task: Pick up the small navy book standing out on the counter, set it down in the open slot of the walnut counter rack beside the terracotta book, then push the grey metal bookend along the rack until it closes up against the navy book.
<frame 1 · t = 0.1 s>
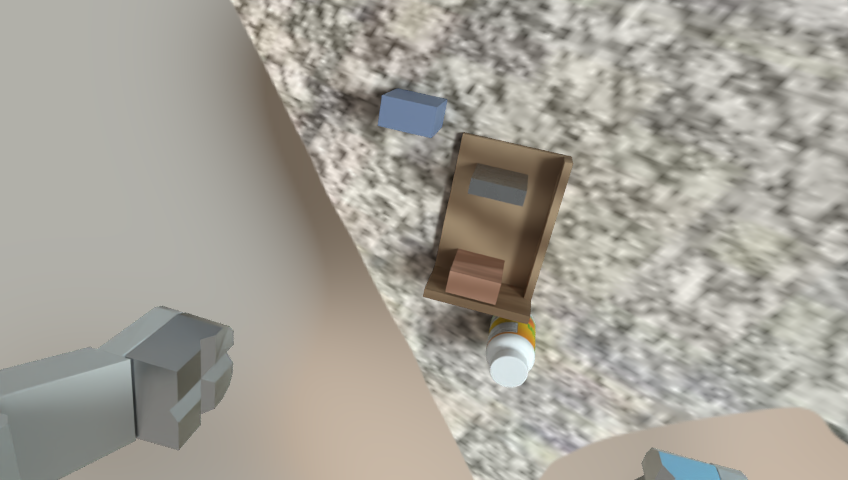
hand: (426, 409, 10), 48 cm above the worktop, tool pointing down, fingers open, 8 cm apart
book: (419, 107, 56), on the worktop
supplement bottle: (513, 323, 64), on the worktop
bookend: (499, 183, 53), point 4 cm above the worktop, slide at 0.0 cm
rack: (498, 217, 59), on the worktop
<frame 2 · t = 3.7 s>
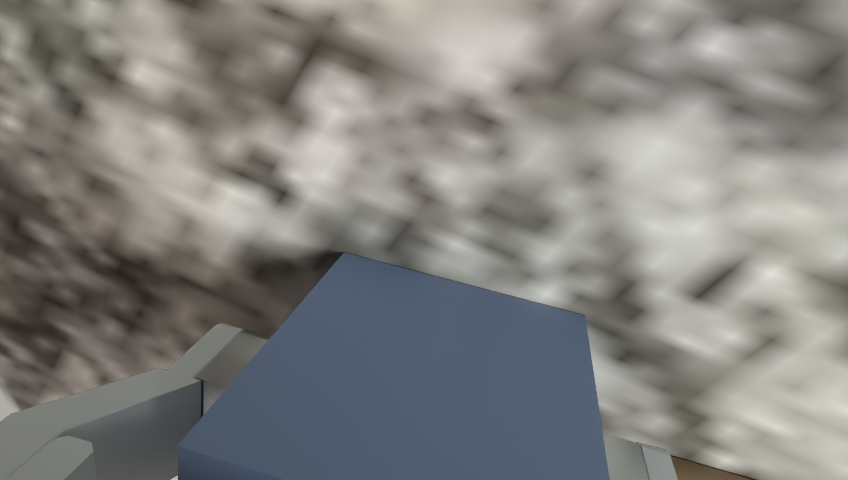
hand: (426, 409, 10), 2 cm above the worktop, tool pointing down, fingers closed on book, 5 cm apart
book: (447, 338, 12), on the worktop, touching gripper
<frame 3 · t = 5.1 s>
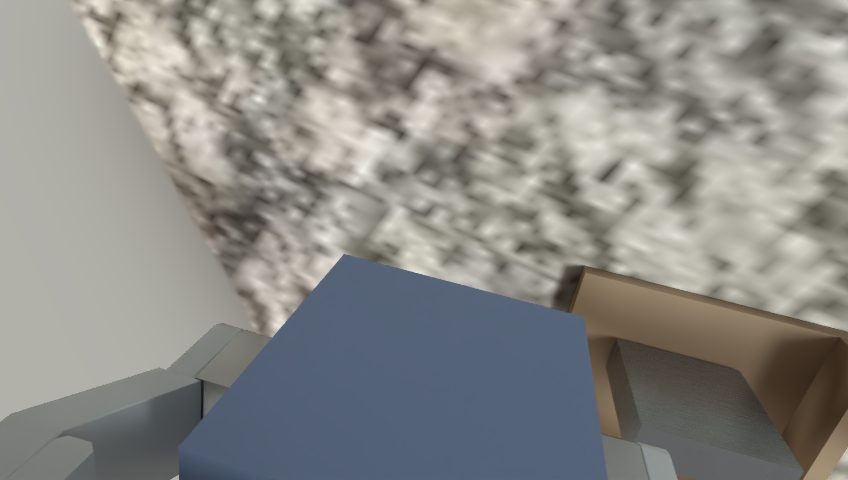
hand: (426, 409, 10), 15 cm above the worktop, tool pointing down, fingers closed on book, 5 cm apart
book: (447, 339, 12), point 13 cm above the worktop, touching gripper
bookend: (688, 410, 21), point 4 cm above the worktop, slide at 0.0 cm
rack: (646, 441, 27), on the worktop
when the fingers open (4 cm above the worktop, at t = 9.6 s): book drops 1 cm, resting on rack.
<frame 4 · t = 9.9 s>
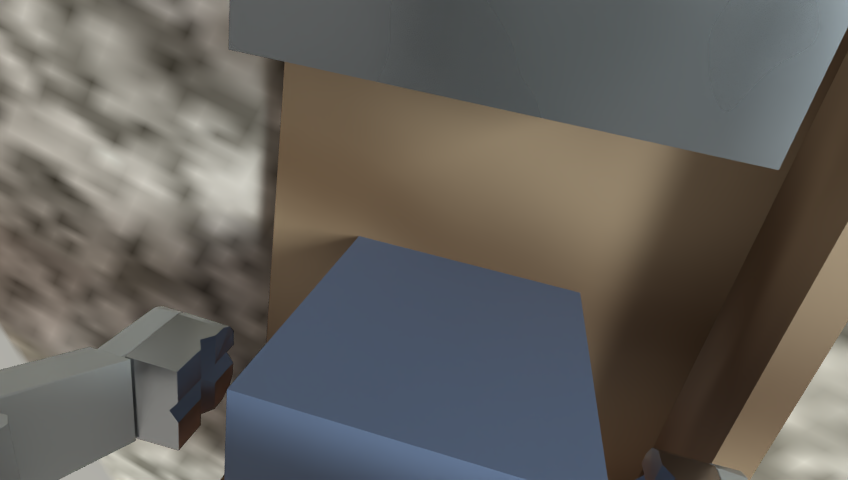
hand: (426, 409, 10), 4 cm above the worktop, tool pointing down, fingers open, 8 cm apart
book: (454, 315, 13), point 1 cm above the worktop, touching rack
bookend: (518, 21, 7), point 4 cm above the worktop, slide at 0.0 cm
rack: (505, 241, 13), on the worktop
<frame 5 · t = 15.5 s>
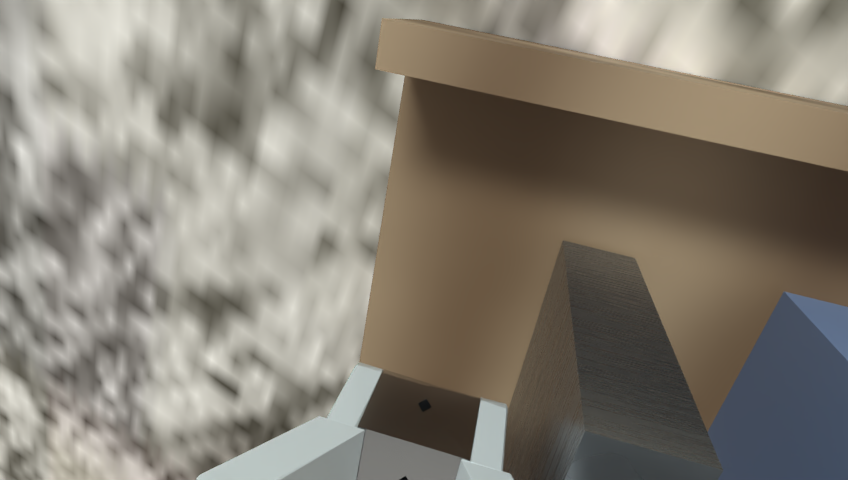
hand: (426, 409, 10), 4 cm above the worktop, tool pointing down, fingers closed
book: (796, 407, 12), point 1 cm above the worktop, touching rack
bookend: (569, 438, 10), point 4 cm above the worktop, slide at 1.5 cm, touching gripper
rack: (713, 339, 13), on the worktop
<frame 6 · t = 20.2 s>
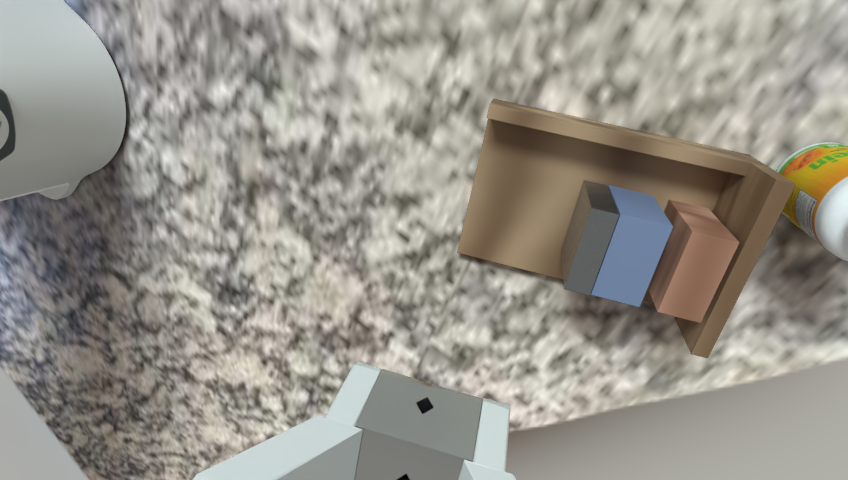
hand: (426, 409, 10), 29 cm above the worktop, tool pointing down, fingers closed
book: (616, 226, 36), point 1 cm above the worktop, touching rack
supplement bottle: (813, 181, 34), on the worktop
bookend: (586, 234, 34), point 4 cm above the worktop, slide at 4.6 cm
rack: (590, 205, 37), on the worktop
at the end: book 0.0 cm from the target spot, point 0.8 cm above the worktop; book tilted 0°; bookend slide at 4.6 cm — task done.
